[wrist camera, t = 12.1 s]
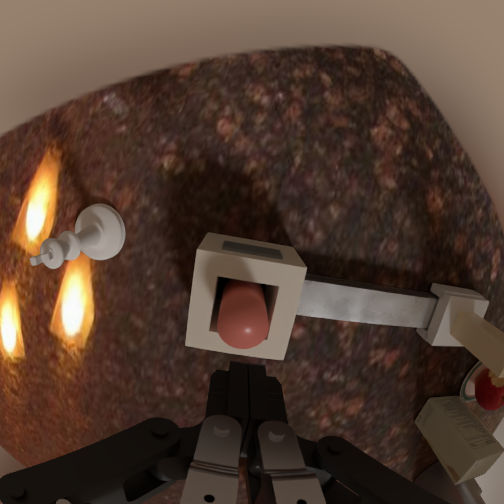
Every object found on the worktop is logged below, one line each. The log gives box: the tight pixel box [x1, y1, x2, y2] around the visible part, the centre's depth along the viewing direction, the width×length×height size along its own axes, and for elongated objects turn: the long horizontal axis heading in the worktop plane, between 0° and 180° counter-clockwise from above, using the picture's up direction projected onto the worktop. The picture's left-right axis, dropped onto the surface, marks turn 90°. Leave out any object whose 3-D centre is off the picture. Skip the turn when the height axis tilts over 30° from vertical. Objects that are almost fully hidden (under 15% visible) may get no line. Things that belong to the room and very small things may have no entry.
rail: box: [296, 273, 480, 328], centre depth 26 cm, size 21×5×2 cm, turn 80°
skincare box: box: [415, 396, 504, 485], centre depth 25 cm, size 6×4×12 cm
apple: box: [460, 361, 504, 410], centre depth 27 cm, size 8×8×6 cm
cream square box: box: [185, 232, 307, 360], centre depth 23 cm, size 7×7×6 cm
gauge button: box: [217, 279, 269, 349], centre depth 20 cm, size 3×3×5 cm
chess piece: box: [30, 203, 125, 269], centre depth 20 cm, size 5×5×10 cm
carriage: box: [416, 283, 504, 378], centre depth 21 cm, size 6×5×11 cm
